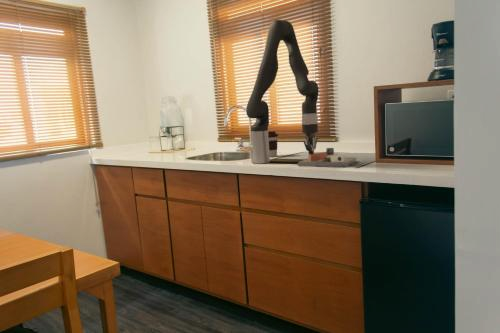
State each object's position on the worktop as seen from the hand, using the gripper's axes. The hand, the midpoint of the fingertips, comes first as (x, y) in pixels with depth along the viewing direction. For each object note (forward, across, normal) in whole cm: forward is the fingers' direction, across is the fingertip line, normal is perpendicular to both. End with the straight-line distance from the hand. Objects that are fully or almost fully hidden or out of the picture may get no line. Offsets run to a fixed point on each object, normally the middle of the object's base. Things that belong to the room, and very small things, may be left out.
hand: (311, 158), depth 192 cm
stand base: (+3, -6, +6) cm, 9 cm away
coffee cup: (+4, -32, -38) cm, 50 cm away
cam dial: (+1, -3, +5) cm, 6 cm away
